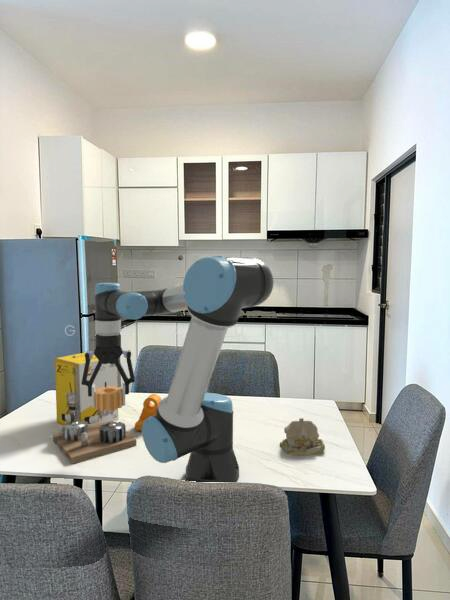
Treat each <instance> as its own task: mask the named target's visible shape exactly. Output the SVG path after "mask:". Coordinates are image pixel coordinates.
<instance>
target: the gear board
mask: <svg viewBox="0 0 450 600" xmlns="http://www.w3.org/2000/svg"><path fill="white" fill-rule="evenodd" d="M109 422H110V423H112V422H114V421H108V422H104V423H100V424H96V425H92V426H88V432H89V435H88V433H87V432H84V433H81V440H79V441H78V440H75V441H71V440H69V441H65V440H63V439H62V432H59V433H54V434H53V435H52V441H53V442H54V444H55V445H56V446H57V448H59V451H61V453H62V454H63V455H64V456H65V458H66V459H67V460H68V461H69V463H70V464H71V465H72V464H76V463H80V462H84V461H88V460H91V459H93V458H97V457H100V456H104V455H108V454H111V453H114V452H118V451H122V450H124V449H128V448H131V447H135V446H137V438H135V437H134V436H133V435H131V433H129V432H128V431H126V438H124V440H123V441H121V440H120V441H119V442H117V443H116V442H113V443H111V444H109V442H107V443H103V442H101V441H100V436H99V427H101V425H103V424H106V423H109Z"/></svg>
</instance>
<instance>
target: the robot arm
mask: <svg viewBox="0 0 450 600" xmlns="http://www.w3.org/2000/svg"><path fill="white" fill-rule="evenodd" d="M273 289H274V277H273V273H272V271H271V270H270V267H269V266H267V264H266V263H265V262H263V261H261V260H260V259H258V258H254V257H242V256H241V257H236V256H235V257H233V256H222V255H214V256H209V257H207V256H206V257H202V258H199V259H198V260H196V261H194V262H193V263H192V264H191V265H190V267H189V268H188V270H187V271H186V273H185V276H184V278H183V283H182V284H179V285H175V286H171V287H167V288H163V289H155V290H139V291H138V290H137V291H135V290H134V291H133V290H132V291H125V290H124V291H122V289H121V285H120V283H118V282H98V283H96V284H95V287H94V315H95V316H94V317H95V320H94V321H95V322H94V327H95V328H94V329H95V331H94V332H95V333H96V334H95V336H94V337H95V340H94V341H95V349H94V351H92V352H91V351H85V352H86V353H85V352H84V353H85V359H86V362H85V367H84V373H83V378H82V383H81V384H82V385H86V386H88V396H89V397H91V396H92V408H95V384H93V382H94V380H95V378H96V376H97V373H98V371H99V369H100V367H101V365H102V364H108V363H109V364H114V363H115V365H116V367H117V372H119V375H120V377H121V378H122V380H123V382H122V389H123V406H122V407H124V406H125V407H126V395H129V393H130V384H132V383H135V382H136V380H135V379H136V378H135V373H134V368H133V363H132V359H131V357H132V351H131V349H128V350H123V348H122V334H121V332H122V318H124V319H126V320H139V319H141V318H142V317H149V316H150V317H151V316H159V315H171V314H175V313H177V312H182V311H188V314H189V315H190V316H191V319H190V322H189V325H188V328H187V332H186V334H185V338H184V341H183V344H182V348H181V351H180V354H179V358H178V360H177V364H176V368H175V371H174V374H173V377H172V381H171V385H170V388H169V390H168V394H167V396H165V397H163V398H161V401H160V403H159V405H158V409H157V412H156V414H155V416H150V417H149V418H147V419H146V420H145V421H144V422H143V426H142V432H141V436H142V439H143V442H144V445H145V448H146V450H147V451H148V453H149V456H151V457H152V458H153V459H154V460H155V461H157V462H158V463H159V464H160V463H161V464H166V463H169V462H173V461H174V462H175V461H176V460H178V459H179V458H182V457H184V456H187V455H188V454H189V457H188V460H187V464H186V467H185V479H186V481H187V480H188V481H196V482H235V483H236V482H237V481H238V480H239V478H240V467H239V466H240V465H239V463H238V461H237V457H236V453H235V451H234V410H233V409H234V407H233V401H232V399H231V398H230V397H229V396H227V395H224V394H219V393H213V392H207V390H208V387H209V384H210V381H211V378H212V376H213V373H214V370H215V366H216V364H217V361H218V357H219V356H220V353H221V349H222V346H223V344H224V340H225V337H226V334H227V332H228V329H229V328H232V327H234V326H236V324H238V321H239V318H240V314H241V312H242V309H247V308H254V307H256V306H259V305H262V304H264V303H265V302H266V301H267V300H268V298H269V297H270V296H271V294H272V292H273ZM93 355H95V356H96V357H97V359H98V360H99V361H98V363H97V365H96V367H95V370H94V372H93V374H92V376H91V378H90V380H89V381H88V380H87V375H88V370H89V365H90V359H92V358H93ZM122 355H123V356H124V357H123V358H125V359H126V364H127V369H128V373H129V378H128V376H127V374H126V372H125V370H124V367H123V365H122V363H121V361H120V360H119V359H120V358H121V356H122ZM188 481H187V482H188Z"/></svg>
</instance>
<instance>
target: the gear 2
mask: <svg viewBox="0 0 450 600" xmlns="http://www.w3.org/2000/svg"><path fill="white" fill-rule="evenodd" d="M126 430H127V429H126V424H125V422H122V421H118V422H117V421H113V422H112V423H110V422H109V423H106V424H103V425H101V427H99V436H100V441H101V442H103V443H107V442H109V444H111V443H113V442H116V443H117V442H119V441H120V440H121V441H123V440H124V438H126V432H127V431H126Z"/></svg>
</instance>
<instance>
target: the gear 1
mask: <svg viewBox="0 0 450 600" xmlns="http://www.w3.org/2000/svg"><path fill="white" fill-rule="evenodd" d="M84 432H87V433H88V435H89V432H88V422H87V421H86V422H85V420H82V421H80V420H76V421H75V414H74V413H73V414H71V421H70V422H69V423H68V422H66V423H64V425H62V424H61V433H62V439H63V440H65V441H69V440H71V441H75V440H78V441H79V440H81V433H84Z"/></svg>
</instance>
